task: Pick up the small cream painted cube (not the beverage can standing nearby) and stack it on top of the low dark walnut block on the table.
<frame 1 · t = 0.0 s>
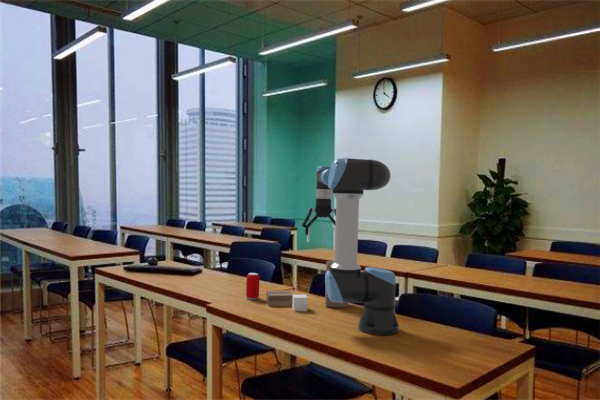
hand: (322, 242, 221), 28 cm above the table, fingers open, 13 cm apart
walnut block: (279, 303, 212), on the table
wooden block: (336, 305, 211), on the table
beverage can: (252, 299, 220), on the table
cream cube: (299, 309, 202), on the table
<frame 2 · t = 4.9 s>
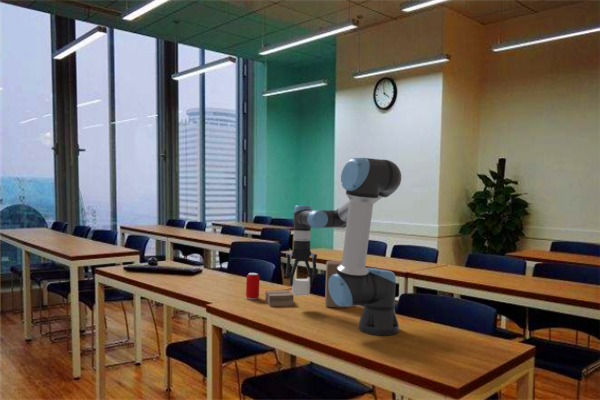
hand: (300, 292, 201), 8 cm above the table, fingers closed on cream cube, 6 cm apart
cream cube: (300, 293, 201), point 7 cm above the table, touching gripper
everything else where it was.
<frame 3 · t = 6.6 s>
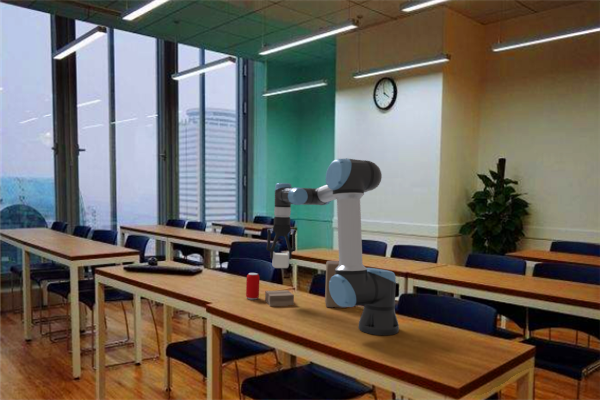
hand: (280, 266, 212), 17 cm above the table, fingers closed on cream cube, 6 cm apart
cream cube: (280, 266, 212), point 17 cm above the table, touching gripper
everything else where it was.
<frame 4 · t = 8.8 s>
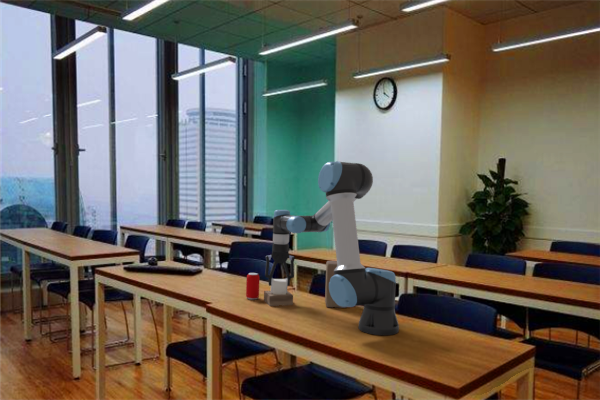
hand: (278, 292, 213), 5 cm above the table, fingers closed on cream cube, 6 cm apart
cream cube: (278, 293, 213), point 4 cm above the table, touching gripper
when the fingers open (5 cm above the table, at t = 8.8 s): cream cube stays where it is, resting on walnut block.
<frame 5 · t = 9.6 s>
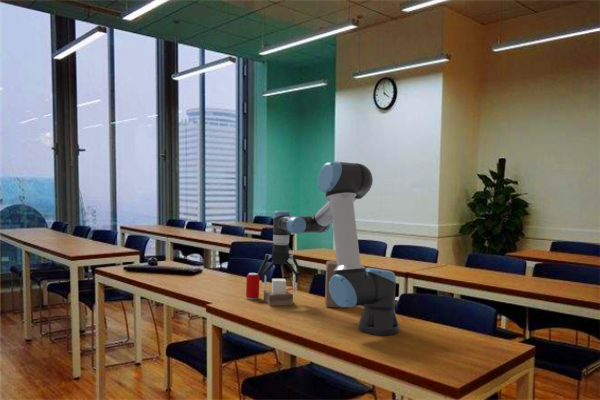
hand: (279, 289, 212), 6 cm above the table, fingers open, 13 cm apart
walnut block: (277, 303, 213), on the table, touching cream cube
cream cube: (278, 292, 213), point 5 cm above the table, touching walnut block
everything else where it was.
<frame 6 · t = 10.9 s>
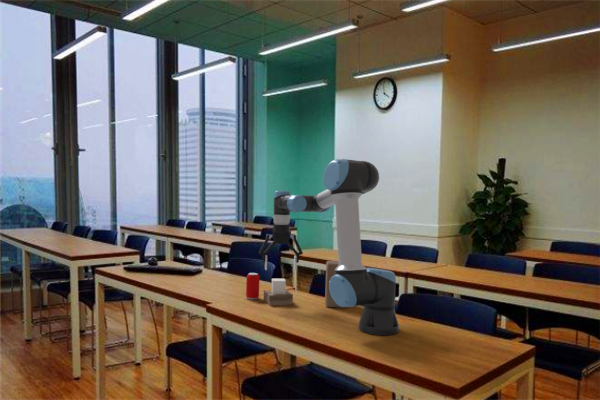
hand: (280, 269, 212), 15 cm above the table, fingers open, 13 cm apart
nothing on the table moved.
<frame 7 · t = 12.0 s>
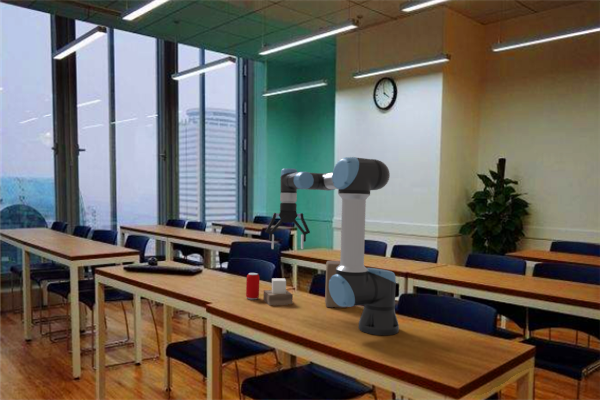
hand: (287, 248, 209), 26 cm above the table, fingers open, 13 cm apart
walnut block: (277, 303, 214), on the table
cream cube: (278, 292, 213), point 5 cm above the table
everything else where it was.
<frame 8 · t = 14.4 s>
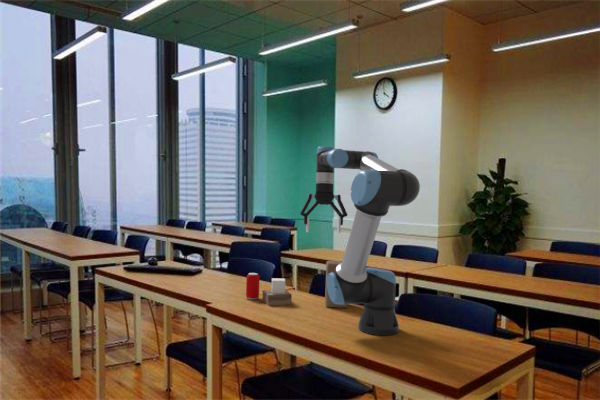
hand: (323, 232, 195), 35 cm above the table, fingers open, 13 cm apart
nothing on the table moved.
at the end: cream cube inside the target area on the walnut block (0.6 cm from its centre), point 5.0 cm above the walnut block's base; cream cube tilted 0°; the gripper is holding nothing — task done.
